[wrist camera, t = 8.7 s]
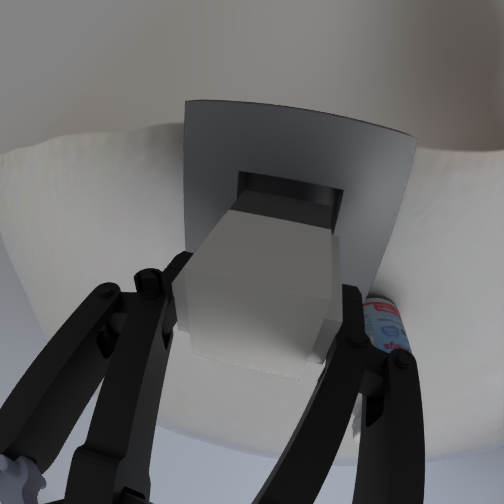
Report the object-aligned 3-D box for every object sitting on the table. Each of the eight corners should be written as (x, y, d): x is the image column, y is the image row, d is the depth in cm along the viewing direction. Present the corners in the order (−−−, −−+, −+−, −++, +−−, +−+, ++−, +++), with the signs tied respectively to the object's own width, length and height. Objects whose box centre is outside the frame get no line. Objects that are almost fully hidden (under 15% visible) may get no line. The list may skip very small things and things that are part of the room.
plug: (244, 189, 16) (184, 267, 9) (330, 206, 15) (331, 300, 9) (239, 260, 19) (192, 353, 12) (312, 275, 18) (298, 380, 11)
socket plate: (200, 99, 17) (185, 100, 15) (406, 133, 15) (417, 138, 13) (198, 274, 25) (188, 290, 23) (352, 306, 23) (352, 326, 21)
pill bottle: (407, 317, 22) (438, 423, 13) (357, 349, 25) (369, 451, 16) (376, 282, 21) (411, 406, 11) (320, 320, 24) (325, 439, 14)
